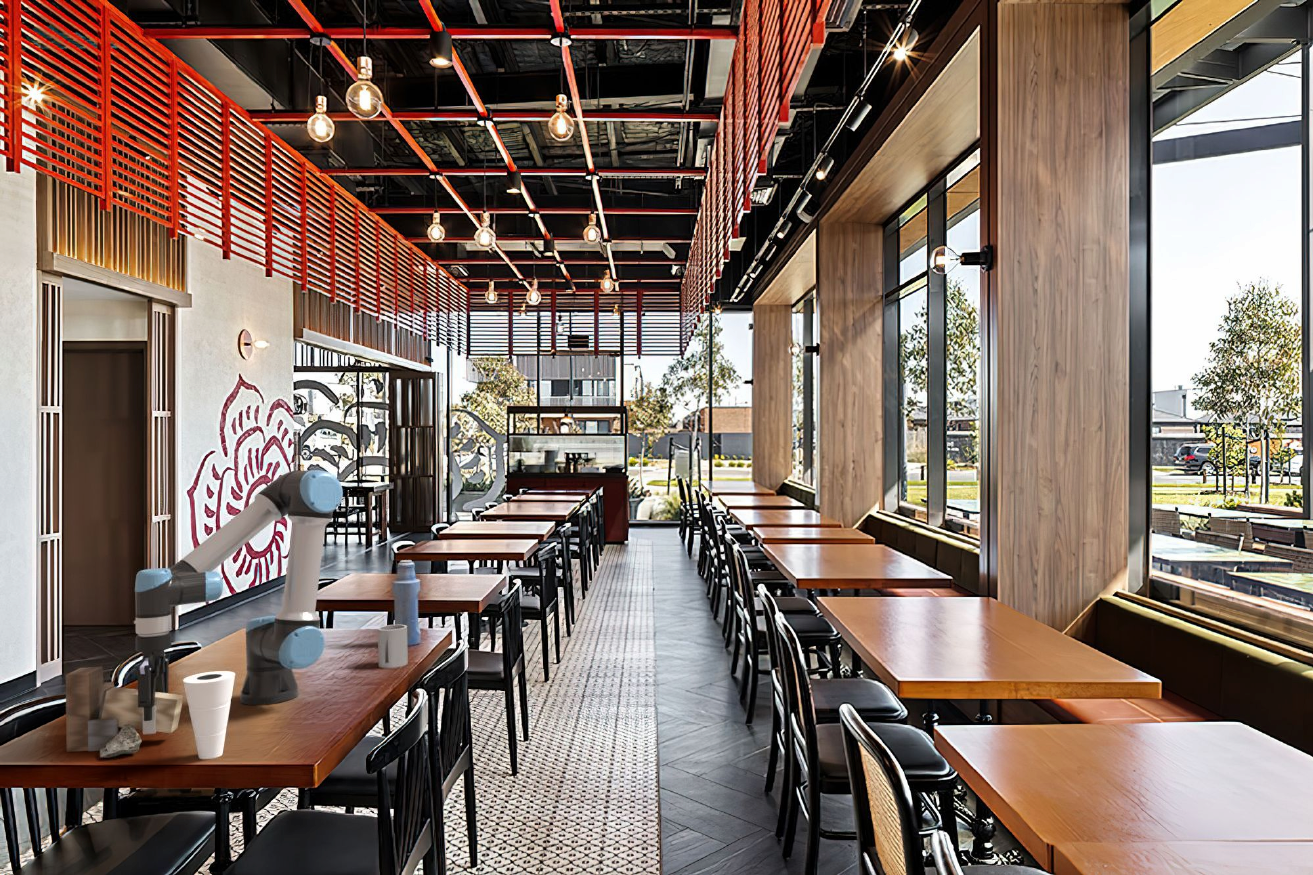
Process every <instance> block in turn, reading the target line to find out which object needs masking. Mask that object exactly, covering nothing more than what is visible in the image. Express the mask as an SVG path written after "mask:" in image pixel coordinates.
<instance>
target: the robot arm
mask: <svg viewBox="0 0 1313 875" xmlns="http://www.w3.org/2000/svg"><path fill="white" fill-rule="evenodd" d="M343 491H344V490H343V487H342V484H341V482H340V481H339V479H338V478H337V477H336V476H335V475H334V474H332V473H331V472H328V471H327V470H326V471H324V470H319V469H313V470H311V469H310V470H309V469H308V470H299V469H298V470H291V471H288V472H286V473H284V474H282V475H280V476H278V477H277V478H276V479H274V480H273V481H272V482H270V483H269V484H268V485H266V486H265V488H263V489H262V490H261V491H259V492H258V493H256V495H255V496H254V501H253V502H251V503H250V504H249V505H248V506H246V507H245V508H244V509H243V510H242V511H240V512H239V513H238V514H236V515H234V517H232V519H230V520H229V521H228V522H227V523H225V524H224V525H222V526H221V527H220V528H219V529H217V530H216V531H215V532H213V534H211V535H210V536H209V537H208V538H206V539H205V540H204V541H203V542H201V544H198V546H196V547H195V548H194V549H192V550H191V551H190V552H189V553H188V554H186V555H185V556H184V557H183V558H182V559H180V560H179V561H177V562H176V563H175V564H174V565H172V566H171V567H166V568H160V567H159V568H158V567H157V568H147V569H143V570H139V571H138V572H137V574H136V575H135V576H136V577H135V585H134V586H135V587H134V593H135V620H133V624H134V625H135V633H136V634H137V635H136V637H135V651H136V652H138V653H142V658H141V659H142V660H141V663H140V664H141V665H137V666H136V668H135V670H136V674H137V690H138V707H143V730H142V735H152V734H155V735H156V733H157V731H156V705H154V701H155V692H161V693H169V681H170V680H169V674H170V673H169V672H170V670H169V669H170V668H169V667H170V665H169V663H170V657H171V656H170V653H165V651H166V650H169V649H171V647H172V633H171V632H170V631H171V630H172V607H177V606H184V605H192V604H198V603H208V602H213V601H216V600H219V599H220V598H221V596H222V595H223V591H224V583H223V582H224V581H223V578H222V576H221V575H220V573H219V572H218V571H215V570H216V568H218V567H219V566H221V565H222V564H223V563H224V562H226V560H228V559H229V558H230V557H231V556H232V555H234V554H235V553H236V552H238V551H239V550H240V549H241V548H242V547H244V545H245V544H247V543H248V542H250V541H251V540H252V539H253V538H254V537H256V536H257V535H258V534H259V533H260V532H262V531H263V530H264V529H265V528H266V527H267V526H269V525H270V524H271V523H273V522H279V521H280V520H283V518H284V517H286V516H287V518H288V519H289V520H290V521H291V523H292V527H291V534H290V541H289V542H290V543H289V550H288V556H287V558H288V559H287V565H286V566H287V567H286V574H285V581H284V582H285V583H284V590H283V599H282V605H281V606H282V607H281V610H280V612H279V613H278V614H276V615H267V616H262V617H260V616H259V617H257V618H251V619H249V620H248V621H247V622H246V624H245V625H246V626H245V634H244V635H245V647H246V648H245V649H246V651H245V652H246V674H245V678H244V681H243V684H242V687H241V690H240V694H239V701H240V703H241V704H244V705H249V706H251V705H252V706H261V705H262V706H263V705H264V706H265V705H271V704H277V703H282V702H286V701H290V700H292V699H295V698H297V697H298V696H299V685H298V682H297V679H296V676H295V674H294V670H303V669H307V668H310V667H312V666H313V665H314V664H315V663H316V662H317V661H318V660H320V658H321V656H322V654H323V653H324V651H325V646H326V638H325V636H324V633H323V632H322V630H320V622H321V617H320V616H319V615H318V614H317V613H316V608H317V600H318V599H317V597H318V590H319V583H320V581H319V580H320V574H321V566H322V559H323V558H322V556H323V549H324V540H325V532H326V526H327V525H328V524H329V523H330V522H332V520H333V516H334V515H333V512H334V511H335V510H336V509H337V508H338V507H339V506H340V504H341V503H342V500H343V496H344V495H343V494H344V492H343Z"/></svg>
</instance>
